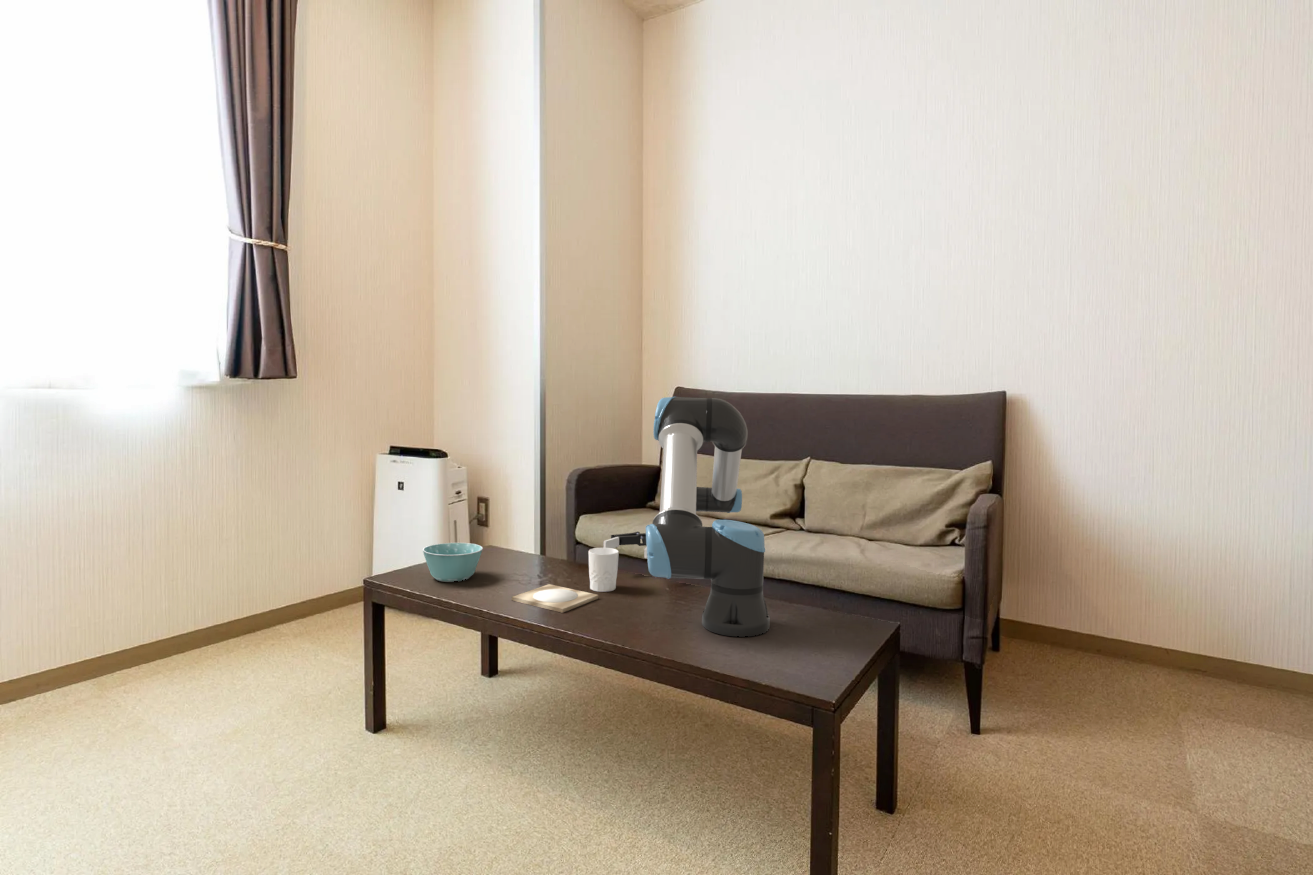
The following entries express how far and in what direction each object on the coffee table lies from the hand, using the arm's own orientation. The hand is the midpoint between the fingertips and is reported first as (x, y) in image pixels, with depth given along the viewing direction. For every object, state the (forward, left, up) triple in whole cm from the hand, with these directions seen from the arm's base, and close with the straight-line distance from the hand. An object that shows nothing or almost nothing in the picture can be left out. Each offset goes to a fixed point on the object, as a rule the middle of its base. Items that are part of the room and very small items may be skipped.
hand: (624, 549), depth 195 cm
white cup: (-4, +9, -9) cm, 13 cm away
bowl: (+24, +40, -9) cm, 47 cm away
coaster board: (-7, +24, -8) cm, 27 cm away
